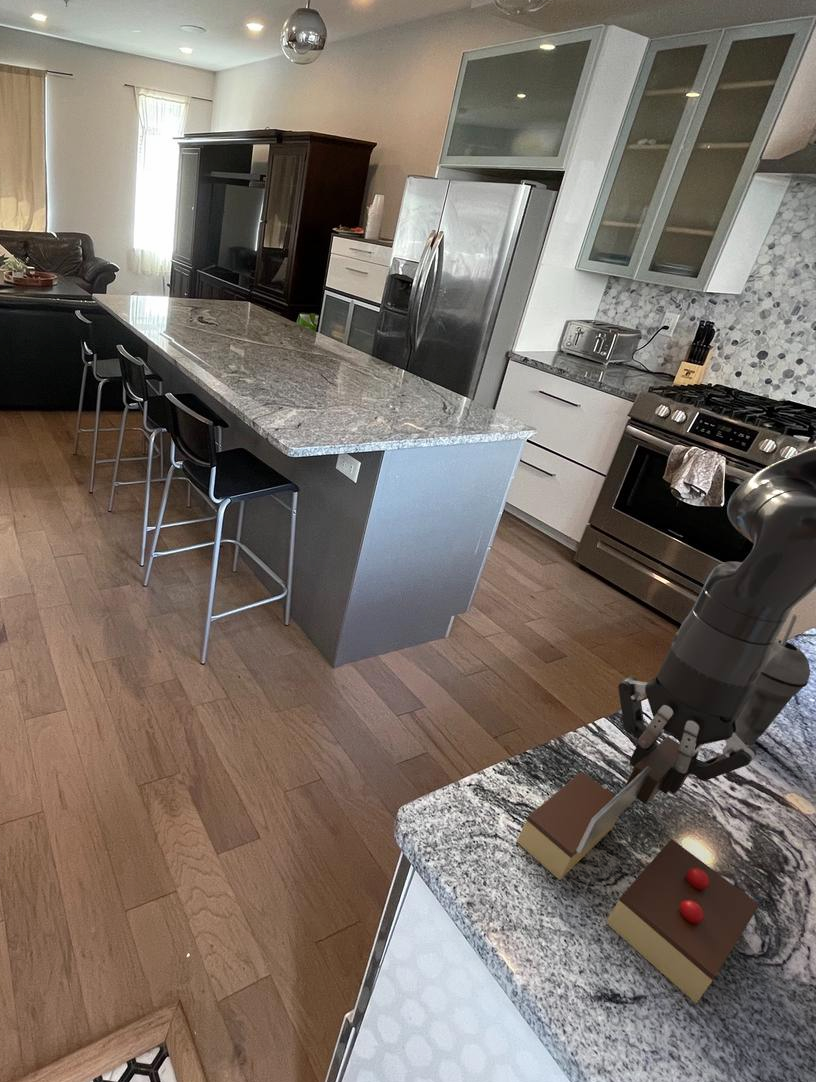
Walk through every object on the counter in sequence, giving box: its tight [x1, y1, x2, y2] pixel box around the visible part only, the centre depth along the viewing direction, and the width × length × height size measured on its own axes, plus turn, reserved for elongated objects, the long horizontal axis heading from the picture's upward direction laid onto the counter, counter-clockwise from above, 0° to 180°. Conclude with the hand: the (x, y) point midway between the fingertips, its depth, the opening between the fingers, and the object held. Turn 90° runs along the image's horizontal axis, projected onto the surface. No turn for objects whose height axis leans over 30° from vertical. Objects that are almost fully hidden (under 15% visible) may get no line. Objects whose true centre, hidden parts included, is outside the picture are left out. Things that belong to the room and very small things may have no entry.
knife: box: [576, 736, 680, 854], centre depth 68 cm, size 22×2×4 cm, turn 126°
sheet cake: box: [605, 838, 760, 1004], centre depth 61 cm, size 12×8×6 cm, turn 126°
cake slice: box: [516, 771, 619, 881], centre depth 69 cm, size 12×5×4 cm, turn 126°
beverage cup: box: [735, 614, 811, 745], centre depth 87 cm, size 7×7×20 cm
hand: (651, 779), depth 72 cm, fingers closed on knife, 2 cm apart
